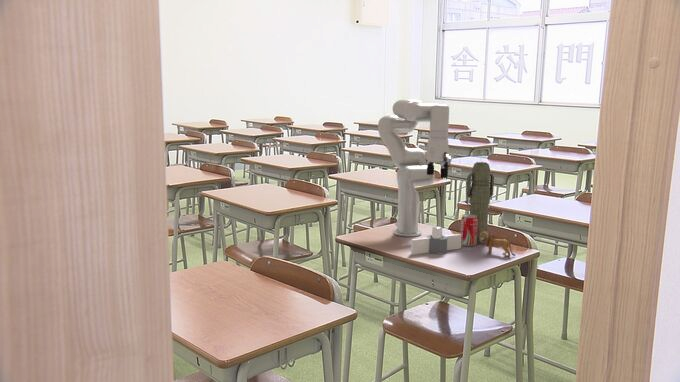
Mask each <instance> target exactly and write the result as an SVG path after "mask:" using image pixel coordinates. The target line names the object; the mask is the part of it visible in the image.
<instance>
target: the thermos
mask: <svg viewBox="0 0 680 382" xmlns="http://www.w3.org/2000/svg"><path fill="white" fill-rule="evenodd" d="M494 185H495V176H494V175H493V173H491V168H490V165H489V163H487V162H486V161H476V162H475V163H473V166H472V170H471V172H470V173H469V174H468V175H467V180H466V197H467V198H469V199H468V202H469V214H473V215H476V216H477V219H478V228H477V244H476V245H484V244H483V243H482V242H481V241H480V233H481V232H483V231H486V232H488V233H489V225H488V222H489V219H488V218H489V205H490V203H491V197H493V195H494Z"/></svg>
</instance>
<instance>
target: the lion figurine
mask: <svg viewBox="0 0 680 382" xmlns="http://www.w3.org/2000/svg"><path fill="white" fill-rule="evenodd" d="M480 241H481V242H482V243H483V244H482V245H484V246H485V247H488V251H487V254H488V255H491V254H492V250H493V248H497V249H499V248H502V250H503V251H504V252H502V255H504V256H505V255H506V258H510V257H511V255H512V256H514V257H515V256H516V254H515V253H513V250H512V246H511V244H510V241H508V240H507V239H505V238H504V239H500V238H497V237H495V235H494V234H491V233H490V232H489V231H488V232H486V231H483V232H481V233H480ZM487 254H486V255H487Z"/></svg>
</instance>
